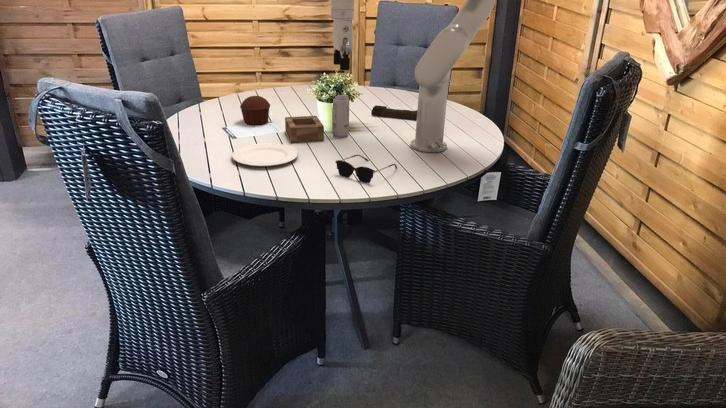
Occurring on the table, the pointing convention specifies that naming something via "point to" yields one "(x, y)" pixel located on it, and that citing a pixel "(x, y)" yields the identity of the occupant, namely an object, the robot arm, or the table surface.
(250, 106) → the muffin
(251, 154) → the plate
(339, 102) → the energy drink can
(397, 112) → the hand tool
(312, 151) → the table surface
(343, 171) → the sunglasses
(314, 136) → the holder block
